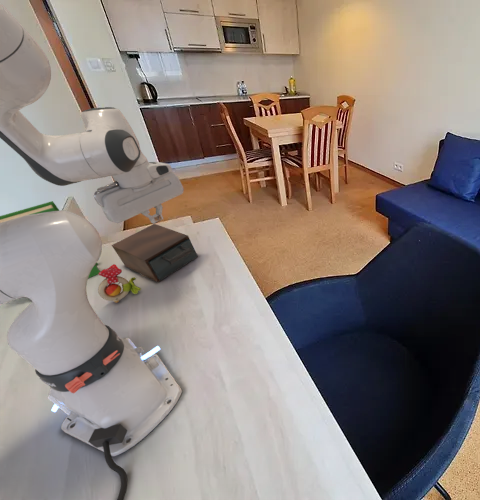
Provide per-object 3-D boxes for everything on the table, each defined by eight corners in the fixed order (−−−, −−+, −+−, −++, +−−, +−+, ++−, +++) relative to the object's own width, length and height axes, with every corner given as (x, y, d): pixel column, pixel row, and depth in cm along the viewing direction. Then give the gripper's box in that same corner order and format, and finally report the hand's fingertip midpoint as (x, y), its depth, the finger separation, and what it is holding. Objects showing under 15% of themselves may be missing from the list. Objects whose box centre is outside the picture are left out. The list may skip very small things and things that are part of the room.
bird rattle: (126, 310, 87) (149, 284, 90) (88, 294, 78) (114, 266, 81) (117, 302, 90) (140, 277, 93) (79, 286, 81) (105, 259, 85)
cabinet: (198, 256, 103) (188, 235, 98) (157, 282, 93) (144, 260, 88) (165, 243, 112) (154, 223, 107) (125, 266, 102) (111, 245, 97)
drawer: (207, 260, 99) (199, 242, 95) (169, 285, 90) (159, 267, 86) (166, 243, 110) (157, 227, 106) (129, 264, 101) (118, 248, 97)
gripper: (96, 193, 70) (126, 242, 78) (175, 163, 84) (194, 207, 92) (83, 189, 73) (114, 237, 81) (162, 160, 86) (182, 204, 94)
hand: (157, 221), depth 86 cm, fingers closed
